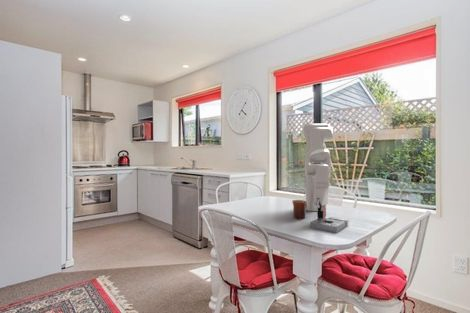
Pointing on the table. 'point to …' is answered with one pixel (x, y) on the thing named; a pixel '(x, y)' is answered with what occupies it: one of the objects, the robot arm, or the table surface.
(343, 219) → the tilted grey slab block
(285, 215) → the table surface
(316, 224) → the square hole plate
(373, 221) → the table surface
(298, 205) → the mug
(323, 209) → the pin
